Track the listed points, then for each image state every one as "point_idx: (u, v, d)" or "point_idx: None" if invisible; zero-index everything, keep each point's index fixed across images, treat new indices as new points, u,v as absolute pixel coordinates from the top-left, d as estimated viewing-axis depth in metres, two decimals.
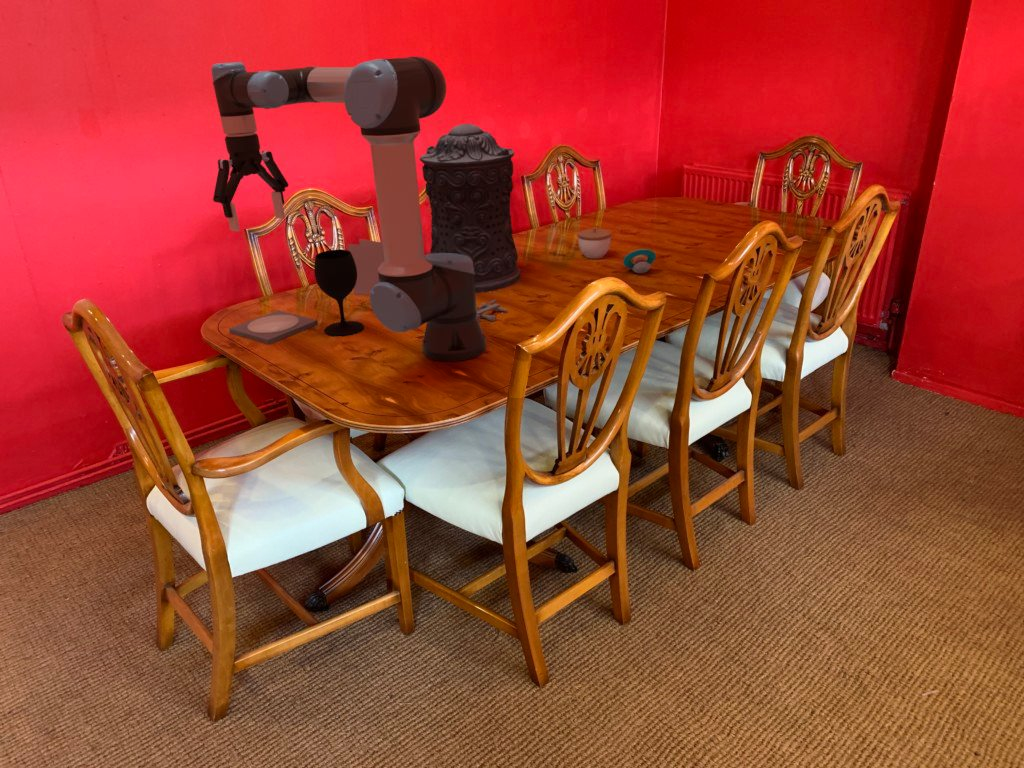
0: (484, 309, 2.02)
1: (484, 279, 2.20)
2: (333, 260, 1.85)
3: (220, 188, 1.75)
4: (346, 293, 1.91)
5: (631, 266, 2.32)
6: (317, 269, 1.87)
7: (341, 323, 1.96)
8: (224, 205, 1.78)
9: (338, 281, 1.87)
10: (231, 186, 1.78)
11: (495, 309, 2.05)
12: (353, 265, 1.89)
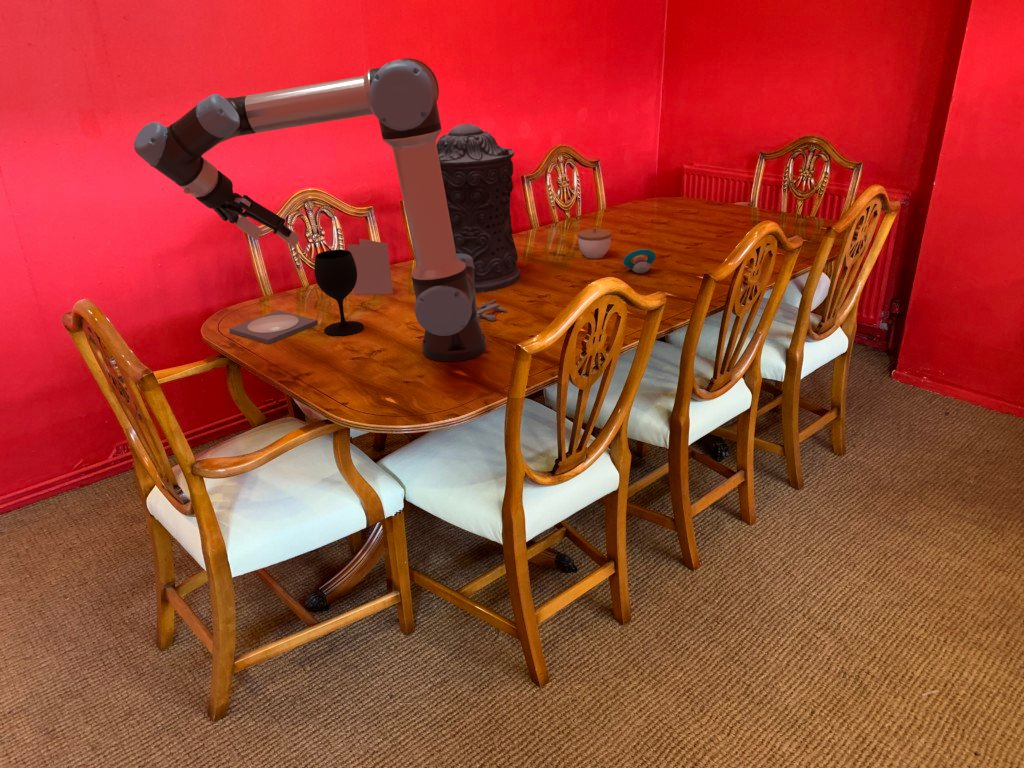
0: (484, 309, 2.02)
1: (484, 279, 2.20)
2: (333, 260, 1.85)
3: (271, 214, 1.61)
4: (346, 293, 1.91)
5: (631, 266, 2.32)
6: (317, 269, 1.87)
7: (341, 323, 1.96)
8: (282, 226, 1.65)
9: (338, 281, 1.87)
10: None
11: (495, 309, 2.05)
12: (353, 265, 1.89)
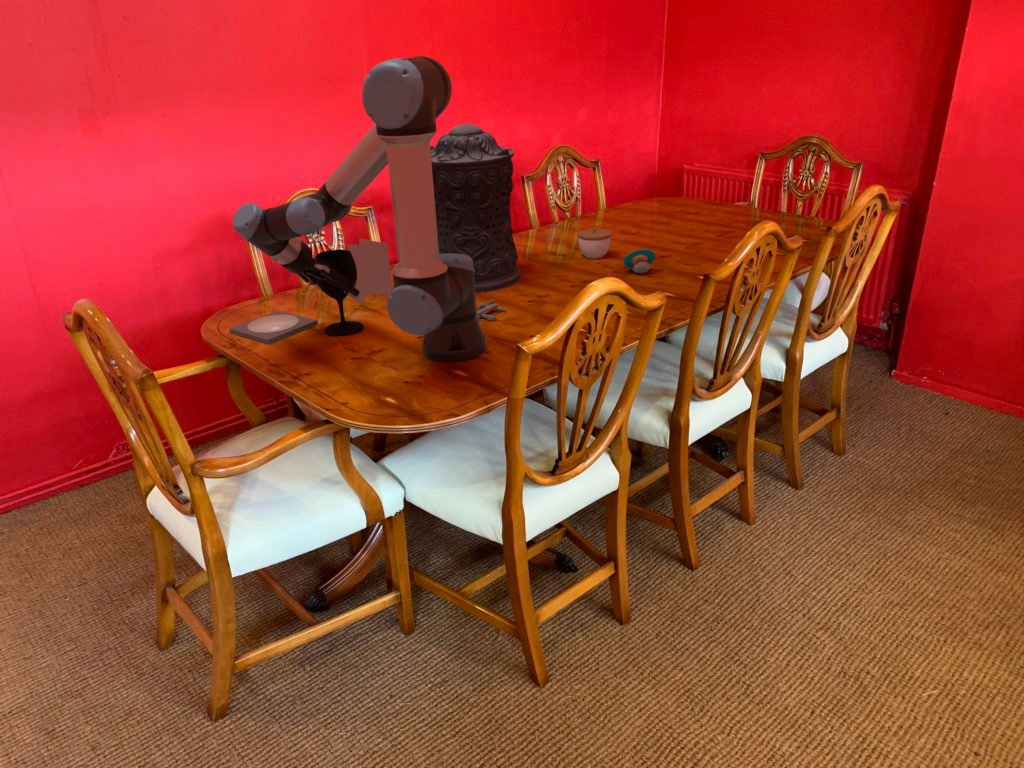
0: (483, 309, 2.02)
1: (484, 279, 2.20)
2: (333, 260, 1.85)
3: (346, 278, 1.84)
4: None
5: (631, 266, 2.32)
6: None
7: (341, 323, 1.96)
8: (352, 288, 1.87)
9: None
10: None
11: (494, 309, 2.05)
12: (353, 265, 1.89)
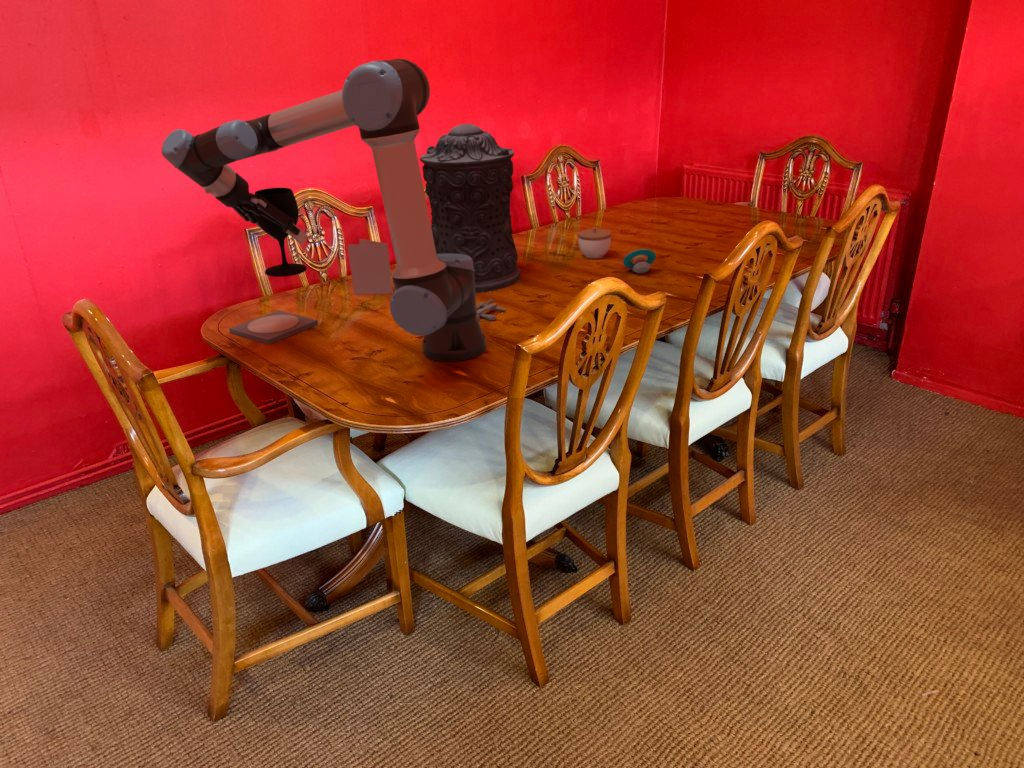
0: (483, 309, 2.02)
1: (484, 279, 2.20)
2: (272, 196, 1.81)
3: (284, 214, 1.79)
4: None
5: (631, 266, 2.32)
6: None
7: (282, 264, 1.91)
8: (291, 226, 1.83)
9: None
10: None
11: (493, 309, 2.05)
12: (293, 203, 1.84)
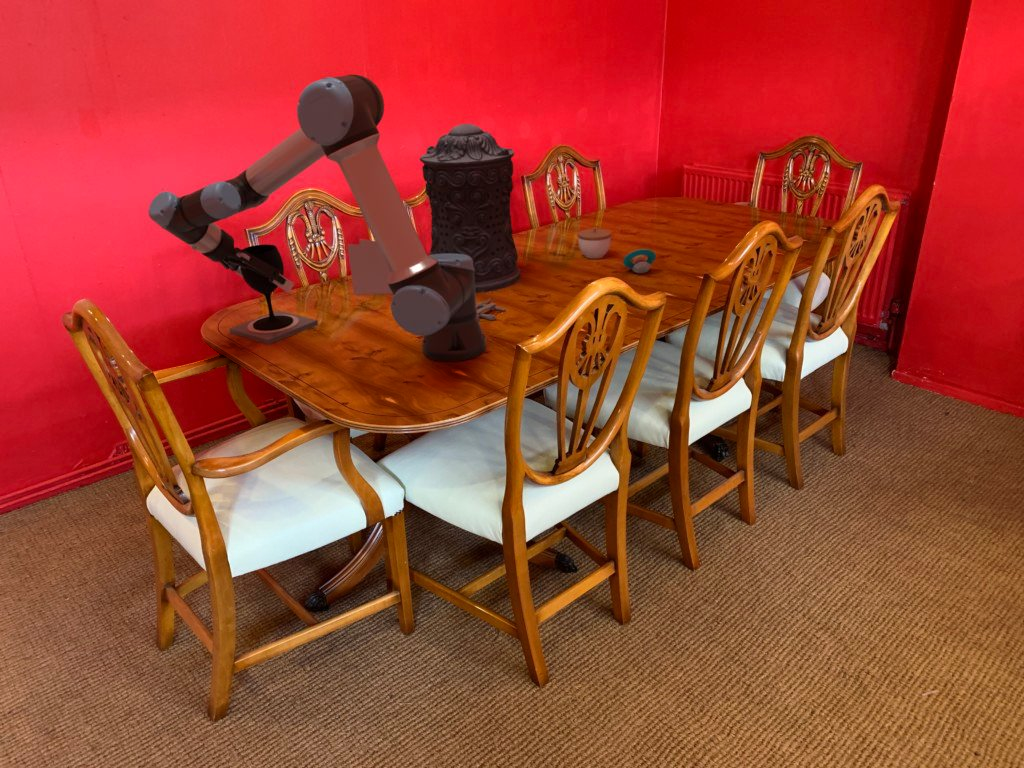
0: (482, 309, 2.02)
1: (484, 279, 2.20)
2: (257, 255, 1.87)
3: (268, 265, 1.84)
4: (272, 287, 1.92)
5: (631, 266, 2.32)
6: None
7: (270, 317, 1.98)
8: (277, 276, 1.87)
9: (263, 276, 1.88)
10: None
11: (492, 308, 2.06)
12: (278, 260, 1.91)
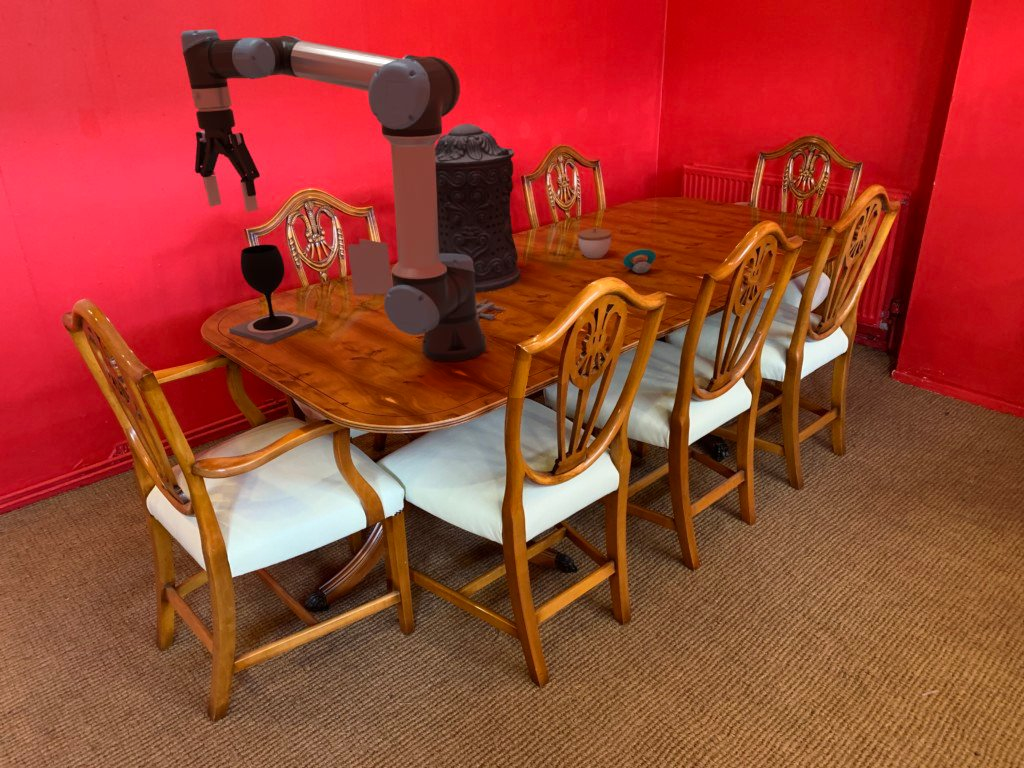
0: (481, 308, 2.02)
1: (484, 279, 2.20)
2: (258, 254, 1.87)
3: (252, 162, 1.64)
4: (273, 287, 1.92)
5: (631, 266, 2.32)
6: (242, 264, 1.89)
7: (270, 317, 1.98)
8: (251, 182, 1.65)
9: (263, 275, 1.88)
10: None
11: (490, 308, 2.06)
12: (279, 260, 1.91)
